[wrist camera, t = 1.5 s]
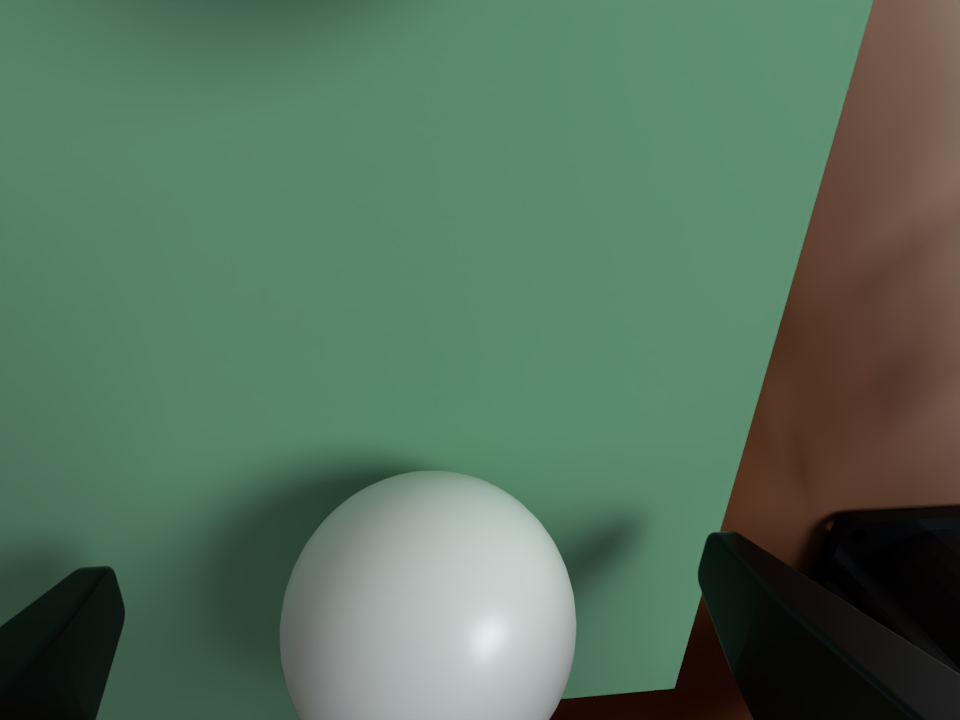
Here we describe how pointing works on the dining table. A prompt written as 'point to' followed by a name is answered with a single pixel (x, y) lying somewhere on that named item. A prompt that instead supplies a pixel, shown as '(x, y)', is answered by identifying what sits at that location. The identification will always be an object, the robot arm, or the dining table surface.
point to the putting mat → (390, 296)
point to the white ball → (428, 607)
